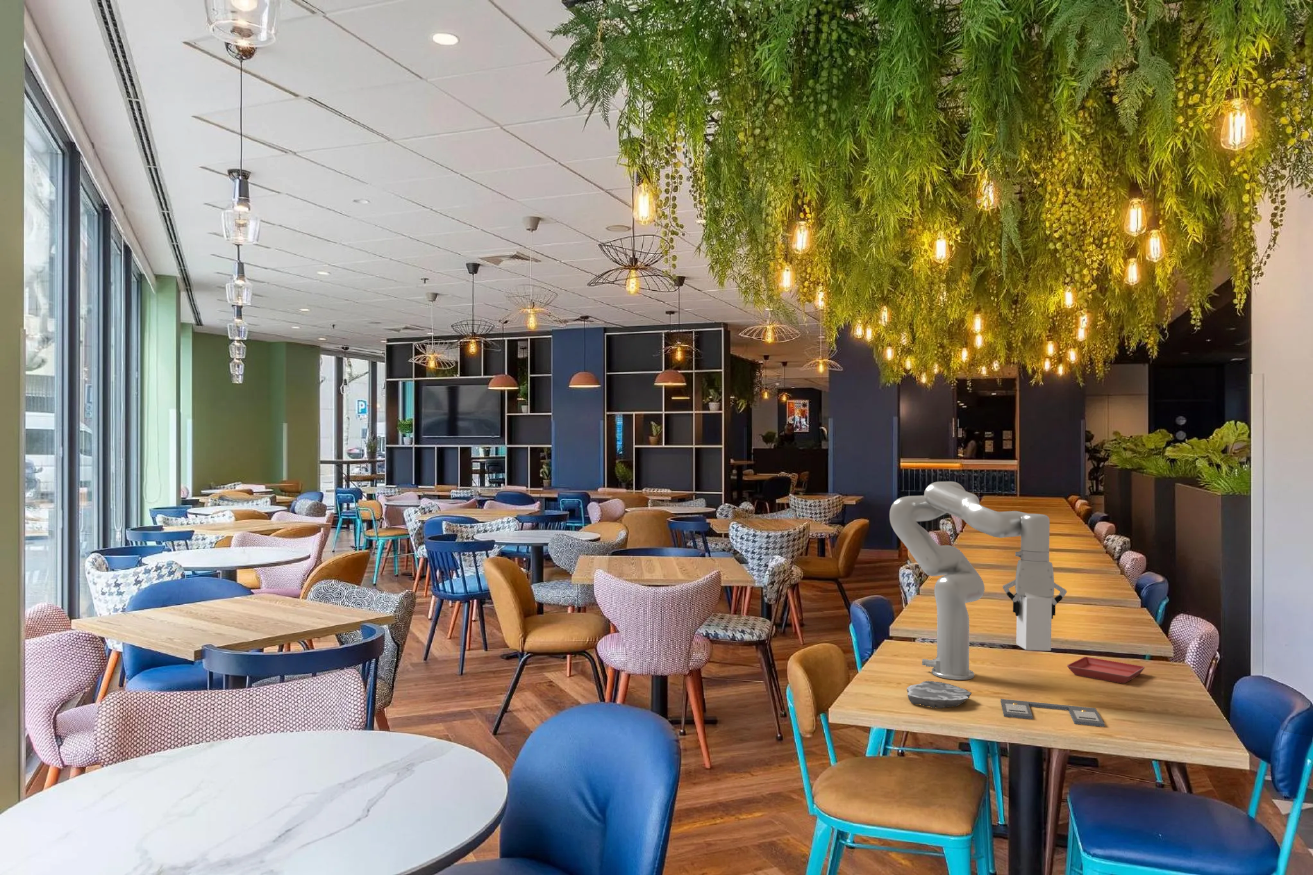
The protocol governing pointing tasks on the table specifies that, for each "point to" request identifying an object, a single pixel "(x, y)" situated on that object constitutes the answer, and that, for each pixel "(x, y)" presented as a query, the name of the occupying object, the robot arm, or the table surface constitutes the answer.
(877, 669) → the table surface
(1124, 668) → the plant saucer
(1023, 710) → the label panel
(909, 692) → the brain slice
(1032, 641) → the milk carton
